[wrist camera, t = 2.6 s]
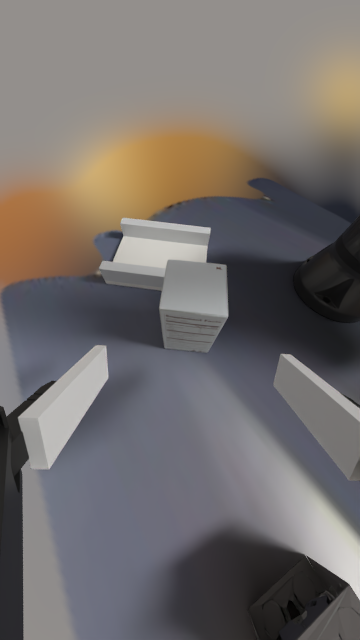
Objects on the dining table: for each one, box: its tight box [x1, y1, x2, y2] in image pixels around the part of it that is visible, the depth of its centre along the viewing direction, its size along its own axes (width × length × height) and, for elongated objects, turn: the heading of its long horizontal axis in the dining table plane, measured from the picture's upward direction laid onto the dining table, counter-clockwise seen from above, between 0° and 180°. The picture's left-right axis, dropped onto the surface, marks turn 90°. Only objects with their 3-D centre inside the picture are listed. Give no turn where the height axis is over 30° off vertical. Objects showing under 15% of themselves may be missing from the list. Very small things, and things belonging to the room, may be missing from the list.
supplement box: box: [159, 259, 228, 353], centre depth 25 cm, size 7×7×13 cm
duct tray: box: [99, 218, 210, 291], centre depth 36 cm, size 19×15×4 cm
